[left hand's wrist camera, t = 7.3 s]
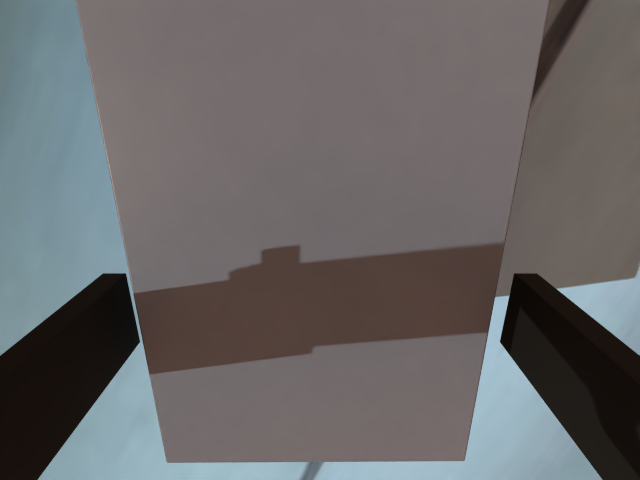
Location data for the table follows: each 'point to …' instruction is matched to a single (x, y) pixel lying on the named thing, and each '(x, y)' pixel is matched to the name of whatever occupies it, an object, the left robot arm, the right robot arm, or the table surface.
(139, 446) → the table surface
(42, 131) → the table surface
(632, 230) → the table surface
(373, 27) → the cabinet
